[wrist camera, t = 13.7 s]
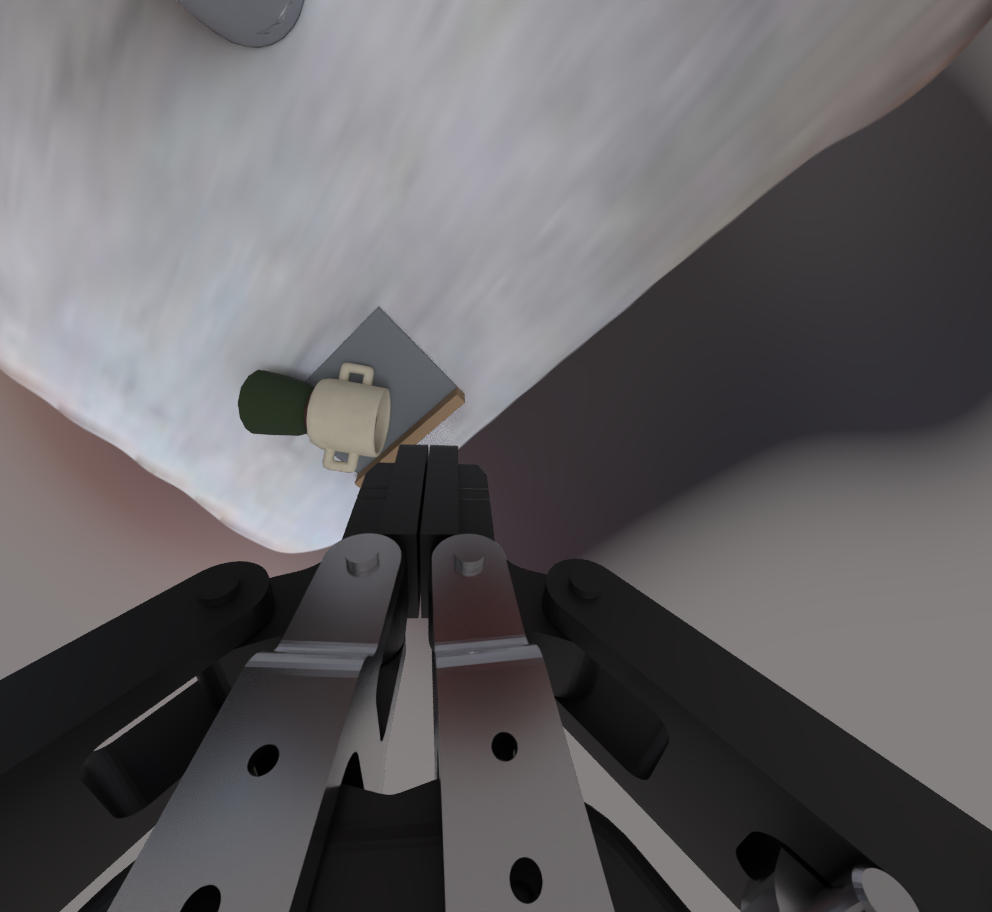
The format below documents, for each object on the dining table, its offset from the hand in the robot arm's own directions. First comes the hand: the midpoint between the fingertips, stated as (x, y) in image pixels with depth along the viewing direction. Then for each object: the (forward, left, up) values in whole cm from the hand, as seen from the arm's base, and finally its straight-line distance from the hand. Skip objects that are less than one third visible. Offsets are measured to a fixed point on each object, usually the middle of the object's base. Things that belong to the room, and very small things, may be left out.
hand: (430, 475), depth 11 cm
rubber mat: (+2, -14, -33) cm, 36 cm away
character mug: (-6, -21, -30) cm, 37 cm away
